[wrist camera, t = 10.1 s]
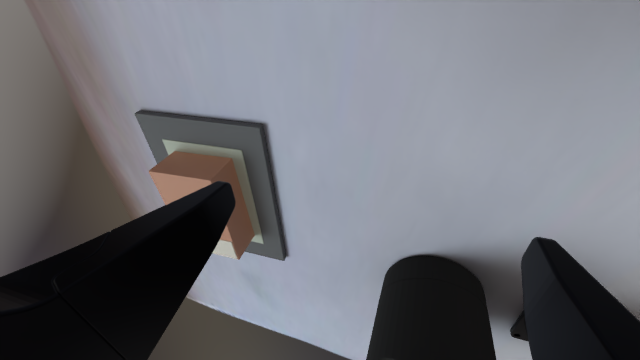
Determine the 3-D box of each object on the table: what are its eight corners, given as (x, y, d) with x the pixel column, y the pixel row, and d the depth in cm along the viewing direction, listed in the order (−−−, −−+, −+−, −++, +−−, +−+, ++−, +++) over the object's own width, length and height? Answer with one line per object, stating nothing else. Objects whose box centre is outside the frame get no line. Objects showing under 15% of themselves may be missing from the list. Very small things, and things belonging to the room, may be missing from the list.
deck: (174, 151, 27) (147, 171, 25) (232, 158, 25) (209, 181, 23) (205, 225, 33) (186, 248, 30) (254, 235, 31) (238, 260, 29)
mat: (286, 256, 33) (283, 261, 32) (194, 234, 36) (190, 239, 36) (262, 124, 23) (258, 128, 23) (139, 110, 26) (133, 113, 26)
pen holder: (380, 243, 27) (357, 357, 20) (498, 259, 24) (524, 402, 17) (382, 302, 33) (364, 409, 25) (478, 321, 29) (491, 450, 22)
